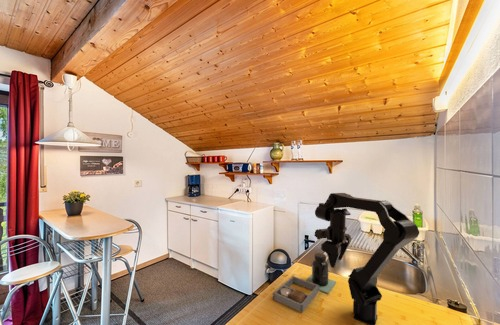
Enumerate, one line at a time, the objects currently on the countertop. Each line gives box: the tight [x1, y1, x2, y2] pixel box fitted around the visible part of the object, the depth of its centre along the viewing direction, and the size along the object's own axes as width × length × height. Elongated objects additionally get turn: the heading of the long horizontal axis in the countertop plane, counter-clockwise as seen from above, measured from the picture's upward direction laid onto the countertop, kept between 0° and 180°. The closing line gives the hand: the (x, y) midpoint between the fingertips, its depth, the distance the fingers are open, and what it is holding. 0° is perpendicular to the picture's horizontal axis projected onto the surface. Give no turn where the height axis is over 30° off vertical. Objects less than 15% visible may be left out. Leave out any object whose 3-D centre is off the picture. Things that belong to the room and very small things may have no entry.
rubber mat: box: [305, 273, 337, 295], centre depth 97 cm, size 11×11×1 cm
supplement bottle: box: [311, 252, 329, 286], centre depth 97 cm, size 7×7×12 cm
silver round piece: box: [281, 288, 291, 299], centre depth 86 cm, size 4×4×3 cm
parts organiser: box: [272, 275, 320, 313], centre depth 88 cm, size 12×17×2 cm
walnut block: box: [290, 288, 306, 303], centre depth 83 cm, size 4×4×4 cm
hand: (336, 263), depth 88 cm, fingers open, 9 cm apart
